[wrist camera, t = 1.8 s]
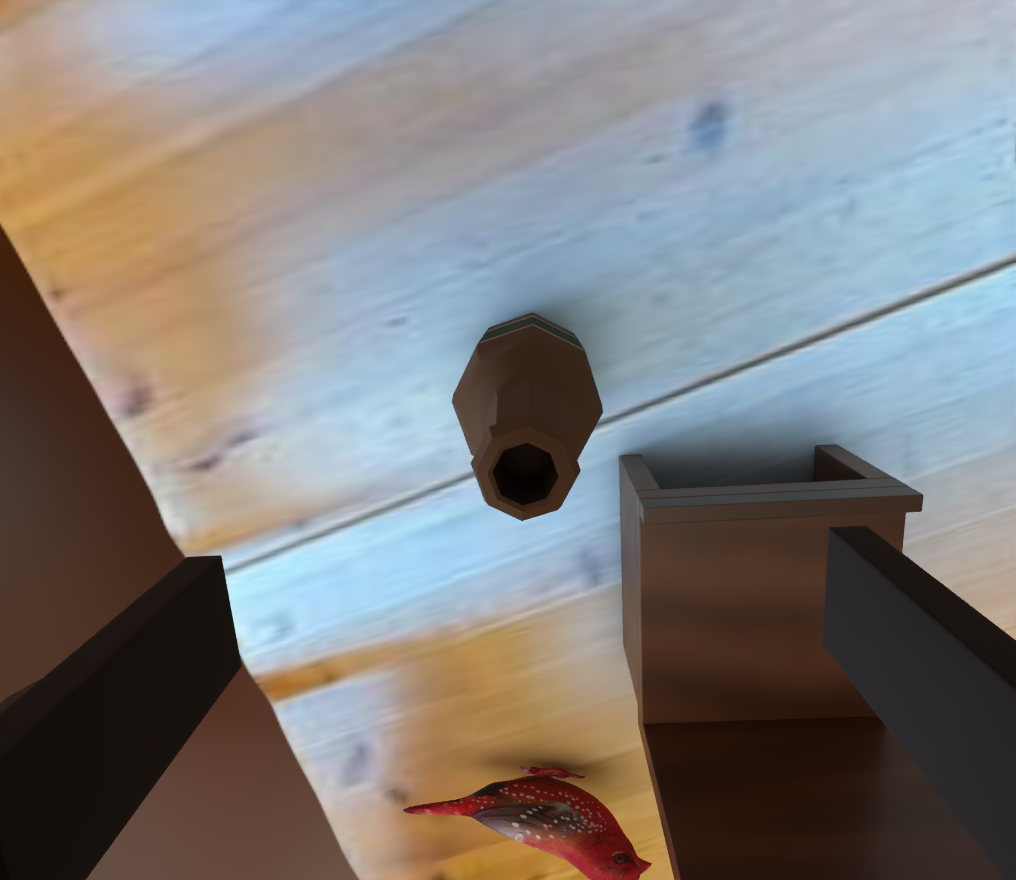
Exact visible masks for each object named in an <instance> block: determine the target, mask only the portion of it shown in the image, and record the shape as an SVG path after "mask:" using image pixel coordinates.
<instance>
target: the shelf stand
mask: <svg viewBox="0 0 1016 880" xmlns="http://www.w3.org/2000/svg"><path fill="white" fill-rule="evenodd" d="M619 472H620V516H621V559H622V602H623V645H624V649H625V653H626V657H627V662H628V666H629V670H630V674H631V678H632V682H633V686H634V690H635V694H636V699H637V703H638V725H639V729H640V734H641V738H642V742H643V747H644V751H645V755H646V759H647V764H648V768H649V772H650V777H651V781H652V785H653V789H654V794H655V798H656V802H657V807H658V811H659V815H660V819H661V824H662V828H663V832H664V837H665V841H666V845H667V849H668V854H669V858H670V862H671V867H672V871H673V875H674V879H675V880H1005V879H1004V878H1003V877H1002V875H1001V874H1000V873H999V872H998V870H997V869H996V868H995V866H994V865H993V864H992V863H991V861H990V860H989V859H988V857H987V856H986V855H985V853H984V852H983V851H982V850H981V848H980V847H979V846H978V844H977V843H976V842H975V841H974V839H973V838H972V837H971V835H970V834H969V833H968V832H967V830H966V829H965V828H964V826H963V825H962V824H961V823H960V821H959V820H958V819H957V817H956V816H955V815H954V813H953V812H952V811H951V810H950V808H949V807H948V806H947V804H946V803H945V802H944V801H943V799H942V798H941V797H940V795H939V794H938V793H937V792H936V790H935V789H934V788H933V786H932V785H931V784H930V783H929V781H928V780H927V779H926V777H925V776H924V775H923V773H922V772H921V771H920V770H919V768H918V767H917V766H916V764H915V763H914V762H913V761H912V759H911V758H910V757H909V755H908V754H907V753H906V752H905V750H904V749H903V748H902V746H901V745H900V744H899V743H898V741H897V740H896V739H895V737H894V736H893V735H892V733H891V732H890V731H889V730H888V728H887V727H886V726H885V724H884V723H883V722H882V721H881V719H880V718H879V717H878V715H877V714H876V713H875V712H874V710H873V709H872V708H871V706H870V705H869V704H868V703H867V701H866V700H865V699H864V697H863V696H862V695H861V693H860V692H859V691H858V690H857V688H856V687H855V686H854V684H853V683H852V682H851V681H850V679H849V678H848V677H847V675H846V674H845V673H844V672H843V670H842V669H841V668H840V666H839V665H838V664H837V663H836V661H835V660H834V659H833V657H832V656H831V655H830V653H829V652H828V651H827V650H826V648H825V647H824V646H823V644H822V637H823V620H824V603H825V586H826V570H827V553H828V536H829V527H848V526H867V527H869V528H870V529H871V530H872V531H874V532H875V533H876V534H878V535H879V536H880V537H882V538H883V539H884V540H885V541H887V542H888V543H889V544H891V545H892V546H893V547H895V548H896V549H897V550H899V551H900V552H901V553H902V548H903V537H904V526H905V515H906V512H921V511H922V503H923V494H921V493H919V492H917V491H916V490H914V489H912V488H911V487H909V486H907V485H906V484H904V483H902V482H901V481H899V480H897V479H895V478H893V477H891V476H890V475H888V474H886V473H885V472H883V471H881V470H880V469H878V468H876V467H874V466H873V465H871V464H869V463H868V462H866V461H864V460H862V459H861V458H859V457H857V456H856V455H854V454H852V453H850V452H849V451H847V450H845V449H844V448H842V447H840V446H838V445H819V446H816V449H815V467H814V482H801V483H780V484H760V485H740V486H720V487H699V488H679V489H660V488H659V486H658V485H657V483H656V481H655V479H654V478H653V476H652V474H651V472H650V471H649V469H648V467H647V466H646V464H645V462H644V460H643V459H642V457H641V455H624V456H619Z"/></svg>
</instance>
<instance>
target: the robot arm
mask: <svg viewBox="0 0 1016 880" xmlns="http://www.w3.org/2000/svg"><path fill="white" fill-rule="evenodd" d="M822 644H823V646H824V647H825V648H826V650H827V651H828V652H829V653H830V655H831V656H832V657H833V659H834V660H835V661H836V663H837V664H838V665H839V666H840V668H841V669H842V670H843V672H844V673H845V674H846V675H847V677H848V678H849V679H850V681H851V682H852V683H853V684H854V686H855V687H856V688H857V690H858V691H859V692H860V693H861V695H862V696H863V697H864V699H865V700H866V701H867V703H868V704H869V705H870V706H871V708H872V709H873V710H874V712H875V713H876V714H877V715H878V717H879V718H880V719H881V721H882V722H883V723H884V724H885V726H886V727H887V728H888V730H889V731H890V732H891V733H892V735H893V736H894V737H895V739H896V740H897V741H898V743H899V744H900V745H901V746H902V748H903V749H904V750H905V752H906V753H907V754H908V755H909V757H910V758H911V759H912V761H913V762H914V763H915V764H916V766H917V767H918V768H919V770H920V771H921V772H922V773H923V775H924V776H925V777H926V779H927V780H928V781H929V783H930V784H931V785H932V786H933V788H934V789H935V790H936V792H937V793H938V794H939V795H940V797H941V798H942V799H943V801H944V802H945V803H946V804H947V806H948V807H949V808H950V810H951V811H952V812H953V813H954V815H955V816H956V817H957V819H958V820H959V821H960V823H961V824H962V825H963V826H964V828H965V829H966V830H967V832H968V833H969V834H970V835H971V837H972V838H973V839H974V841H975V842H976V843H977V844H978V846H979V847H980V848H981V850H982V851H983V852H984V853H985V855H986V856H987V857H988V859H989V860H990V861H991V863H992V864H993V865H994V866H995V868H996V869H997V870H998V872H999V873H1000V874H1001V875H1002V877H1003V878H1004V879H1005V880H1016V640H1014V639H1013V638H1012V637H1011V636H1009V635H1008V634H1007V633H1005V632H1004V631H1003V630H1001V629H1000V628H999V627H998V626H996V625H995V624H994V623H992V622H991V621H990V620H988V619H987V618H986V617H985V616H983V615H982V614H981V613H979V612H978V611H977V610H975V609H974V608H973V607H971V606H970V605H969V604H968V603H966V602H965V601H964V600H962V599H961V598H960V597H958V596H957V595H956V594H955V593H953V592H952V591H951V590H949V589H948V588H947V587H945V586H944V585H943V584H942V583H940V582H939V581H938V580H936V579H935V578H934V577H932V576H931V575H930V574H928V573H927V572H926V571H925V570H923V569H922V568H921V567H919V566H918V565H917V564H915V563H914V562H913V561H912V560H910V559H909V558H908V557H906V556H905V555H904V554H902V553H901V552H900V551H899V550H897V549H896V548H895V547H893V546H892V545H891V544H889V543H888V542H887V541H885V540H884V539H883V538H882V537H880V536H879V535H878V534H876V533H875V532H874V531H872V530H871V529H870V528H869V527H867V526H848V527H829V536H828V553H827V570H826V586H825V603H824V620H823V637H822ZM240 667H241V660H240V655H239V649H238V644H237V638H236V633H235V628H234V622H233V617H232V611H231V606H230V601H229V595H228V590H227V584H226V579H225V573H224V568H223V563H222V557H221V555H220V556H198V557H187V558H186V559H184V560H183V561H182V562H181V563H180V564H178V565H177V566H176V567H175V568H174V569H172V570H171V571H170V572H169V573H168V574H167V575H165V576H164V577H163V578H162V579H161V580H159V581H158V582H157V583H156V584H155V585H153V586H152V587H151V588H150V589H149V590H147V591H146V592H145V593H144V594H143V595H141V596H140V597H139V598H138V599H137V600H135V601H134V602H133V603H132V604H131V605H130V606H128V607H127V608H126V609H125V610H124V611H122V612H121V613H120V614H119V615H118V616H116V617H115V618H114V619H113V620H112V621H110V622H109V623H108V624H107V625H106V626H105V627H103V628H102V629H101V630H100V631H99V632H97V633H96V634H95V635H94V636H93V637H91V638H90V639H89V640H88V641H87V642H85V643H84V644H83V645H82V646H81V647H80V648H78V649H77V650H76V651H75V652H74V653H72V654H71V655H70V656H69V657H68V658H66V659H65V660H64V661H63V662H62V663H60V664H59V665H58V666H57V667H56V668H54V669H53V670H52V671H51V672H50V673H48V674H47V675H46V676H45V677H44V678H43V679H40V680H38V681H36V682H34V683H32V684H31V685H29V686H27V687H25V688H24V689H22V690H20V691H18V692H16V693H15V694H13V695H11V696H9V697H7V698H6V699H5V700H4V701H2V702H1V703H0V880H86V878H87V877H88V876H89V874H90V873H91V871H92V870H93V869H94V867H95V866H96V865H97V863H98V862H99V861H100V859H101V858H102V857H103V855H104V854H105V852H106V851H107V850H108V848H109V847H110V846H111V844H112V843H113V841H114V840H115V839H116V837H117V836H118V835H119V833H120V832H121V831H122V829H123V828H124V826H125V825H126V824H127V822H128V821H129V819H130V818H131V817H132V815H133V814H134V813H135V811H136V810H137V809H138V807H139V806H140V804H141V803H142V802H143V800H144V799H145V798H146V796H147V795H148V793H149V792H150V791H151V789H152V788H153V787H154V785H155V784H156V783H157V781H158V780H159V778H160V777H161V776H162V774H163V773H164V772H165V770H166V769H167V767H168V766H169V765H170V763H171V762H172V761H173V759H174V758H175V756H176V755H177V754H178V752H179V751H180V750H181V748H182V747H183V745H184V744H185V743H186V741H187V740H188V738H189V737H190V736H191V734H192V733H193V732H194V730H195V729H196V728H197V726H198V725H199V723H200V722H201V721H202V719H203V718H204V717H205V715H206V714H207V713H208V711H209V710H210V708H211V707H212V706H213V704H214V703H215V702H216V700H217V699H218V697H219V696H220V695H221V693H222V692H223V691H224V689H225V688H226V687H227V685H228V683H229V682H230V681H231V680H232V678H233V677H234V676H235V674H236V673H237V671H238V670H239V669H240Z"/></svg>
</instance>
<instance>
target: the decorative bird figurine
mask: <svg viewBox="0 0 1016 880" xmlns="http://www.w3.org/2000/svg"><path fill="white" fill-rule="evenodd" d="M521 768H522V769H523V770H525V771H526V772H528V773H531V774H537V775H534V776H527V777H522V778H518V779H514V780H509V781H502V782H495V783H491V784H489V785H487V786H486V787H484V788H482V789H480V790H479V791H477V792H475V793H473V794H471V795H469V796H466V797H463V798H460V799H457V800H450V801H443V802H437V803H430V804H423V805H418V806H413V807H409V808H407V809H404V810H403V811H404V812H406V813H411V814H431V815H458V816H460V815H461V816H469V817H472V818H474V819H476V820H477V821H479V822H481V823H482V824H484V825H486V826H487V827H489V828H491V829H493V830H495V831H497V832H499V833H501V834H503V835H505V836H507V837H509V838H511V839H514V840H516V841H518V842H520V843H523V844H526V845H529V846H531V847H534V848H537V849H540V850H543V851H545V852H548V853H550V854H552V855H555V856H557V857H559V858H561V859H564V860H566V861H568V862H570V863H571V864H572V865H574V866H575V867H576V868H577V869H578V870H579V871H581V872H582V873H583V874H584V875H585V876H587V877H588V878H589V879H591V880H638V879H639V878H640V874H641V873H643V872H644V871H645V870H647V869H648V868H649V867H650V866H651V864H652V863H649V862H647V861H644V860H642V859H640V858H639V857H638V856H637V855H636V853H635V850H634V848H633V846H632V844H631V842H630V841H629V839H628V838H627V837H626V836H625V834H624V833H623V831H622V829H621V828H620V826H619V824H618V822H617V821H616V819H615V817H614V816H613V815H612V813H611V812H610V811H609V810H608V809H607V808H606V807H605V806H604V805H603V804H602V803H601V802H600V801H599V800H598V799H596V798H595V797H594V796H592V795H591V794H589V793H588V792H586V791H584V790H582V789H581V788H579V787H577V786H575V785H573V784H570V783H567V782H564V781H561V780H557V779H553V778H552V777H555V778H562V779H564V778H566V777H570V776H571V777H576V778H585V776H579V775H575V774H571V773H569V772H567V771H565V770H563V769H559V768H551V769H549V768H537V767H530V770H528V769H526V768H524V767H521Z"/></svg>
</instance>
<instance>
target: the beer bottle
mask: <svg viewBox="0 0 1016 880" xmlns="http://www.w3.org/2000/svg"><path fill="white" fill-rule="evenodd" d="M452 403H453V406H454V409H455V412H456V414H457V417H458V420H459V422H460V425H461V428H462V431H463V433H464V436H465V439H466V441H467V444H468V447H469V450H470V452H471V455H473V456H474V458H473V460H472V462H471V465H472V468H473V470H474V473H475V476H476V479H477V481H478V484H479V487H480V489H481V492H482V495H483V497H484V500H485V502H486V503H487V504H488V505H489V506H491V507H494V508H496V509H498V510H500V511H502V512H504V513H506V514H508V515H510V516H513V517H515V518H517V519H519V520H521V521H523V520H527V519H530V518H533V517H536V516H540V515H543V514H546V513H549V512H553V511H556V510H558V509H559V508H560V507H561V506H562V504H563V502H564V500H565V498H566V497H567V495H568V493H569V491H570V489H571V487H572V486H573V484H574V482H575V480H576V478H577V476H578V475H579V473H580V468H579V465H578V462H577V459H578V457H579V456H580V454H581V452H582V450H583V448H584V446H585V445H586V443H587V441H588V439H589V437H590V435H591V433H592V432H593V430H594V428H595V426H596V424H597V422H598V421H599V419H600V417H601V415H602V413H603V409H602V403H601V400H600V397H599V394H598V391H597V387H596V384H595V381H594V378H593V375H592V372H591V368H590V365H589V362H588V359H587V356H586V352H585V350H584V348H583V347H582V345H581V344H580V342H579V341H578V339H577V337H576V336H575V334H574V333H572V332H570V331H568V330H566V329H564V328H562V327H560V326H558V325H556V324H554V323H552V322H550V321H548V320H546V319H544V318H542V317H540V316H538V315H536V314H534V313H530V314H527V315H524V316H521V317H519V318H516V319H513V320H510V321H507V322H504V323H501V324H498V325H495V326H492V327H490V328H488V330H487V331H486V332H485V334H484V335H483V337H482V338H481V340H480V341H479V343H478V344H477V346H476V348H475V350H474V353H473V355H472V357H471V359H470V361H469V363H468V365H467V367H466V369H465V371H464V374H463V376H462V378H461V380H460V382H459V384H458V386H457V388H456V390H455V392H454V395H453V399H452Z"/></svg>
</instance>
